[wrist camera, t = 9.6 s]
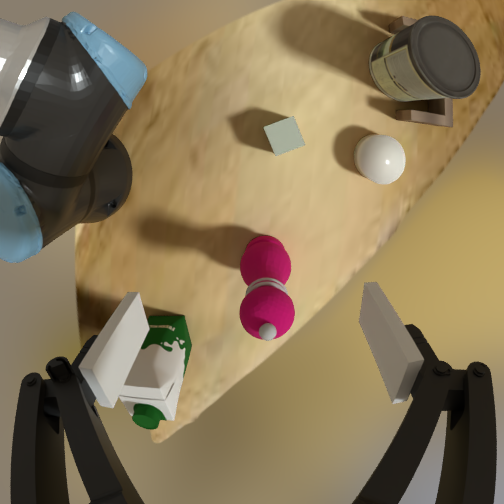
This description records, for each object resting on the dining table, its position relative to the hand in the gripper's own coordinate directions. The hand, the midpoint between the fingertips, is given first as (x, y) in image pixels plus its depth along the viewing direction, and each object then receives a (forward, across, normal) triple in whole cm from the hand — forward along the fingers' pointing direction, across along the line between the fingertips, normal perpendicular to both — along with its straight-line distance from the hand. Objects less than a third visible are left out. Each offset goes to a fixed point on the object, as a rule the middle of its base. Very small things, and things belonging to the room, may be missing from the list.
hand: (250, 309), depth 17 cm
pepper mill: (+29, +1, -9) cm, 30 cm away
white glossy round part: (+29, +18, +5) cm, 34 cm away
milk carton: (+29, -17, -24) cm, 41 cm away
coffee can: (+29, +22, +19) cm, 41 cm away
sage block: (+29, +4, +9) cm, 30 cm away
